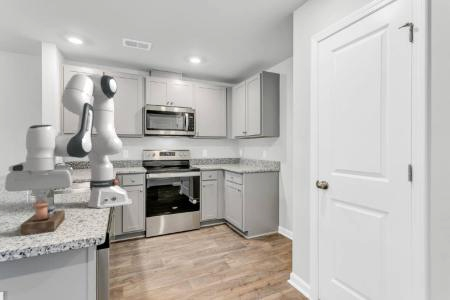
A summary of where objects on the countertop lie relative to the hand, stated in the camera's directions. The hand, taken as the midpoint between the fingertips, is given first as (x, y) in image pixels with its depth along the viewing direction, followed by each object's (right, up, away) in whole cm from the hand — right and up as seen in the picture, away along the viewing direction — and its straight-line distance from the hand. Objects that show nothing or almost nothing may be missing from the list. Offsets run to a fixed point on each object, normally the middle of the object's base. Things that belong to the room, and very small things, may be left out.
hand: (41, 201), depth 85 cm
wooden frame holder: (-2, -11, +4) cm, 12 cm away
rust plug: (0, -7, 0) cm, 7 cm away
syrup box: (-26, -11, +33) cm, 44 cm away
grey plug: (-3, -10, +7) cm, 13 cm away
